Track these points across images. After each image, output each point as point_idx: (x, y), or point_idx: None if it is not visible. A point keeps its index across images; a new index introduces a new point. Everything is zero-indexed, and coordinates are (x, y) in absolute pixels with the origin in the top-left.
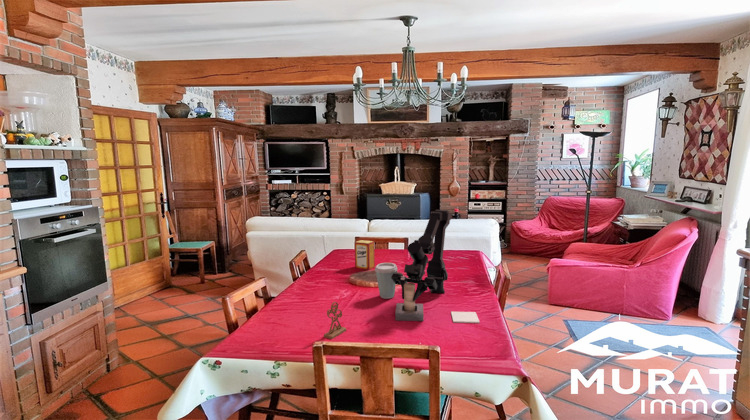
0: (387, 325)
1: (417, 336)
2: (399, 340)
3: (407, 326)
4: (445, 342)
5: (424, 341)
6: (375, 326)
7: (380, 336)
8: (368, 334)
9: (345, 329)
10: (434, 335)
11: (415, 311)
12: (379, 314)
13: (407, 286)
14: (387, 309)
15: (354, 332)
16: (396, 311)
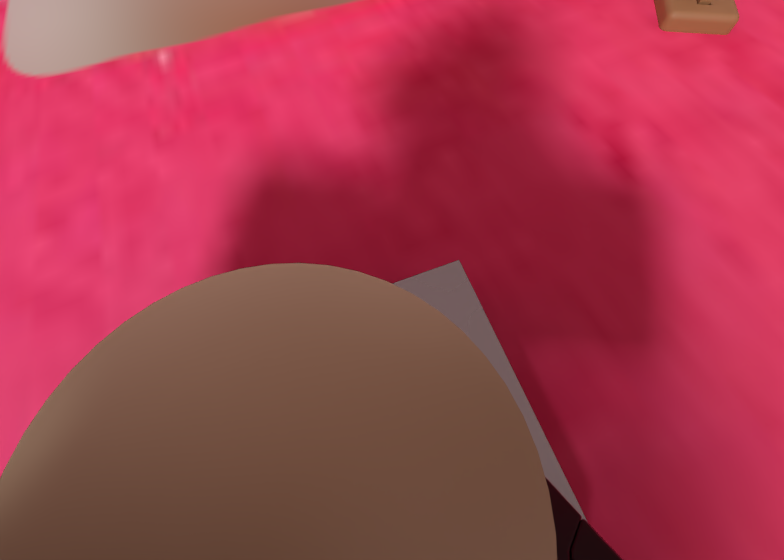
0: (462, 181)
1: (195, 117)
2: (292, 41)
3: (307, 224)
4: (3, 113)
5: (140, 80)
6: (533, 136)
7: (421, 40)
8: (503, 35)
9: (664, 10)
10: (78, 169)
11: None
12: (667, 359)
13: (300, 273)
14: (694, 548)
15: (596, 26)
16: (470, 304)
